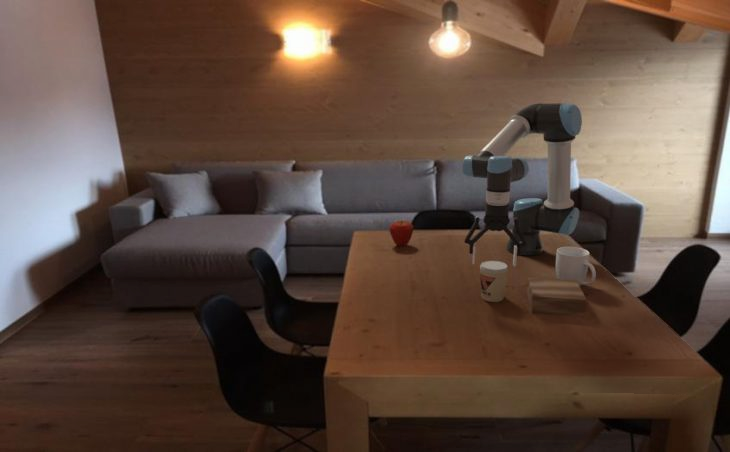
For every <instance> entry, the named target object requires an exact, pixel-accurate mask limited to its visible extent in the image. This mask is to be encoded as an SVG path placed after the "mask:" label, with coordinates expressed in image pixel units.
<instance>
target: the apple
mask: <svg viewBox="0 0 730 452" xmlns="http://www.w3.org/2000/svg"><path fill="white" fill-rule="evenodd" d="M389 233H390V236H391V239H392V240H393V242H394V244H395V245H396V246H398V247H406V246H407V245H408V244H409V242H410V241H411V239H412V236H413V233H414V225H413V224H412V223H411V222H409V221H406V220H398V221H397V220H396V221H394V222H392V223H391V224H390V225H389Z"/></svg>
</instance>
